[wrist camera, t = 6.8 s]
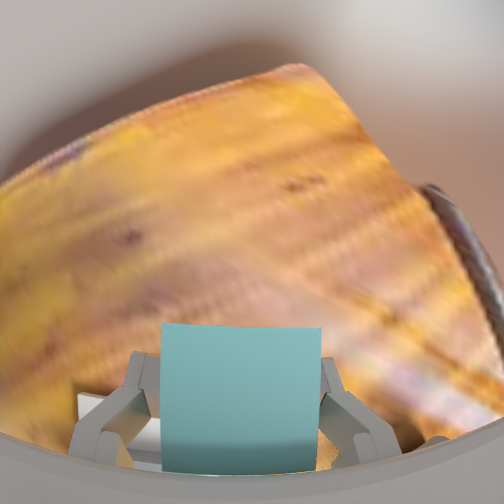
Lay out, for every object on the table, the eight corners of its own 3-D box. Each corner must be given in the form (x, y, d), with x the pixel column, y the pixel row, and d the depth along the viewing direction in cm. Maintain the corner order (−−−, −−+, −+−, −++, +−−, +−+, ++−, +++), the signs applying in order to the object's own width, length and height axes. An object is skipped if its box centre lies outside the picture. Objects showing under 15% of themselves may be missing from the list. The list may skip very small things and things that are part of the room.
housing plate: (221, 545, 20) (222, 567, 16) (97, 529, 18) (87, 547, 15) (221, 407, 24) (223, 419, 20) (80, 391, 22) (63, 398, 19)
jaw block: (266, 410, 14) (315, 470, 7) (185, 408, 14) (162, 471, 6) (268, 333, 16) (321, 327, 8) (187, 330, 15) (161, 322, 7)
